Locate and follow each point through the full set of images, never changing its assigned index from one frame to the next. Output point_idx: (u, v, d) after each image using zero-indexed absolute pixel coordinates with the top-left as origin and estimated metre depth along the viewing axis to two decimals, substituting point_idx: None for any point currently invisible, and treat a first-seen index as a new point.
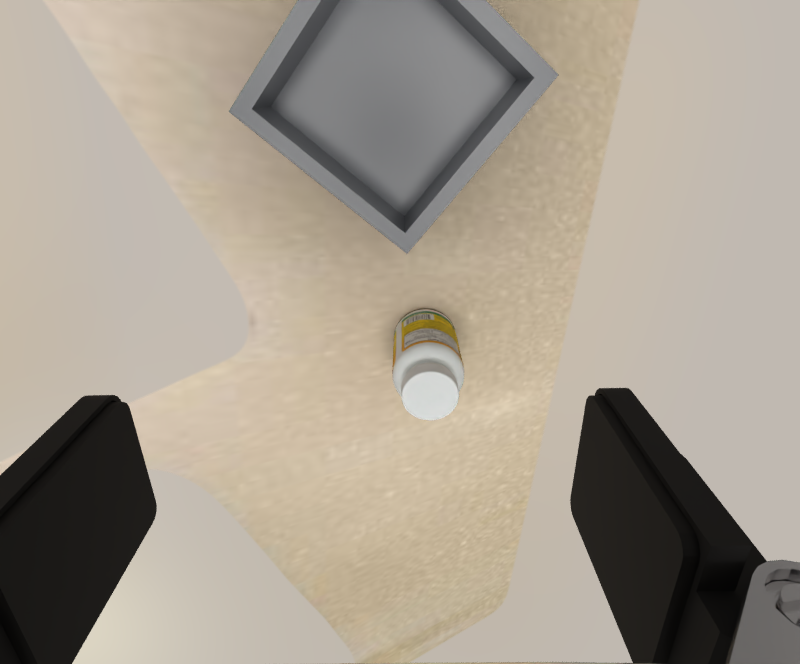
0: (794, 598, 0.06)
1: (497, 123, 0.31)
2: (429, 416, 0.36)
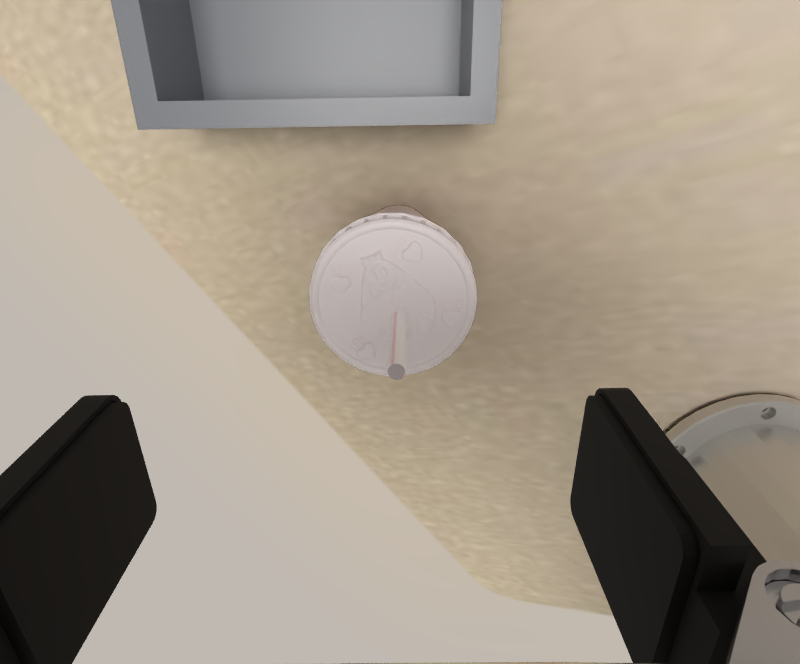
0: (794, 598, 0.06)
1: (137, 3, 0.18)
2: None
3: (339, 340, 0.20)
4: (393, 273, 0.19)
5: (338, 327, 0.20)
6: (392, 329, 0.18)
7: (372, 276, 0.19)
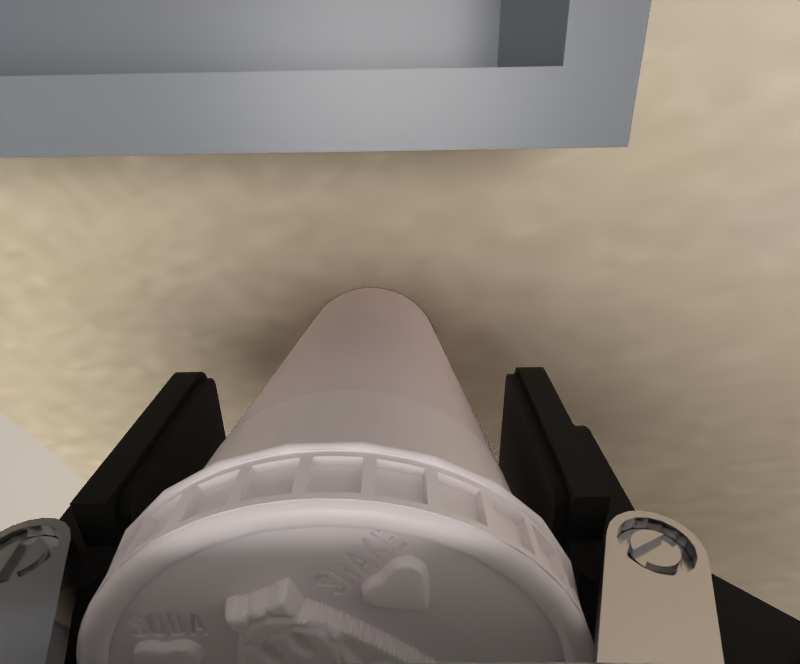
0: (640, 544, 0.07)
1: None
2: None
3: None
4: (335, 647, 0.06)
5: None
6: None
7: (267, 655, 0.06)
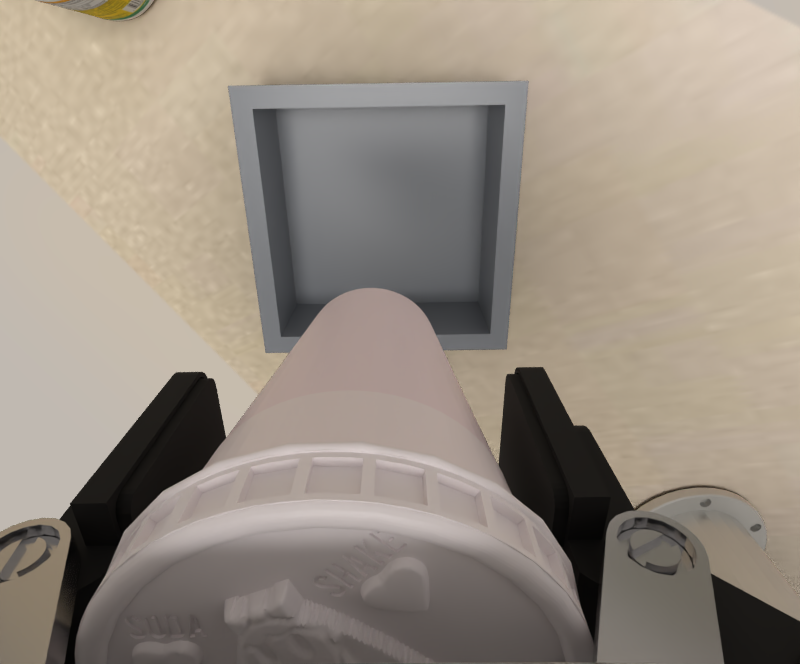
0: (640, 543, 0.07)
1: (273, 284, 0.28)
2: None
3: None
4: (334, 649, 0.06)
5: None
6: None
7: (266, 656, 0.06)
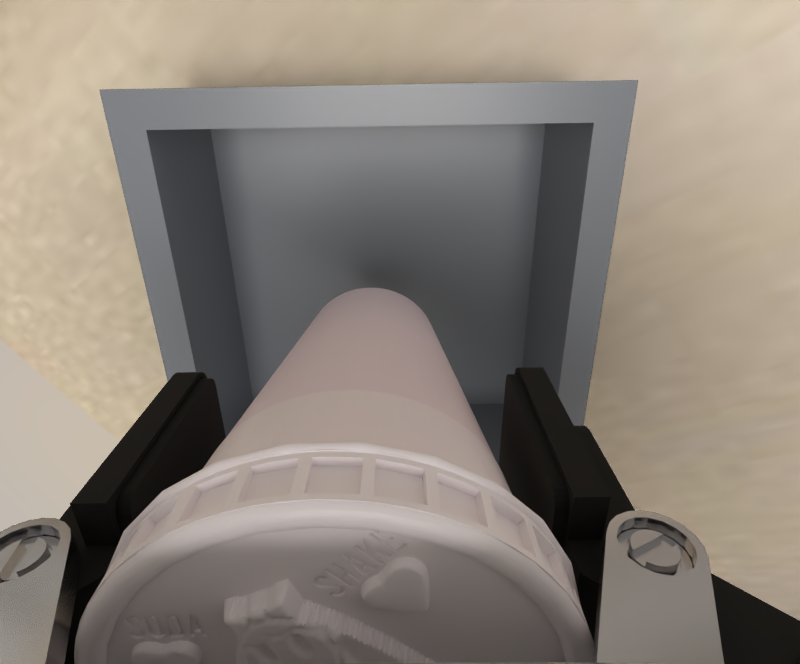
0: (640, 543, 0.07)
1: None
2: None
3: None
4: (334, 649, 0.06)
5: None
6: None
7: (266, 656, 0.06)
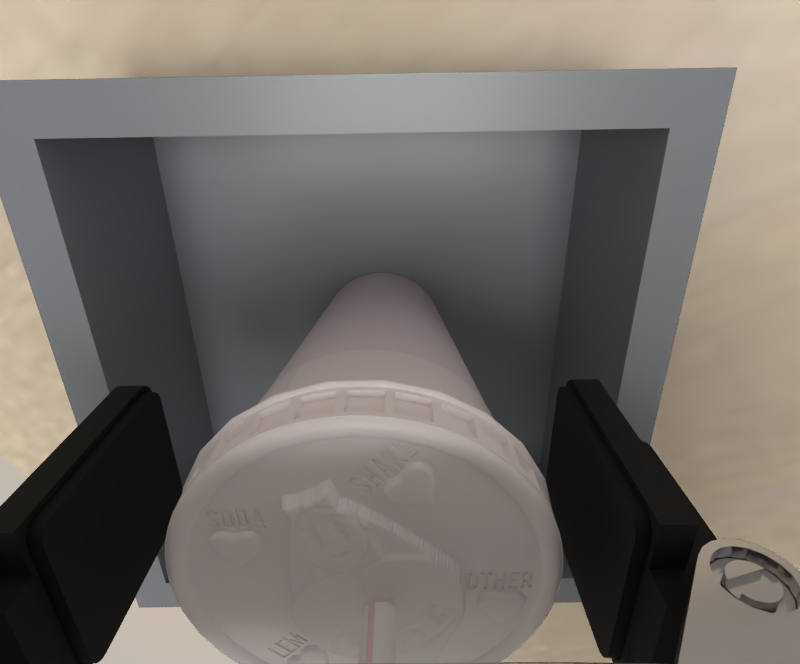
0: (736, 574, 0.06)
1: None
2: None
3: (247, 643, 0.09)
4: (363, 534, 0.07)
5: (242, 622, 0.09)
6: None
7: (312, 540, 0.08)
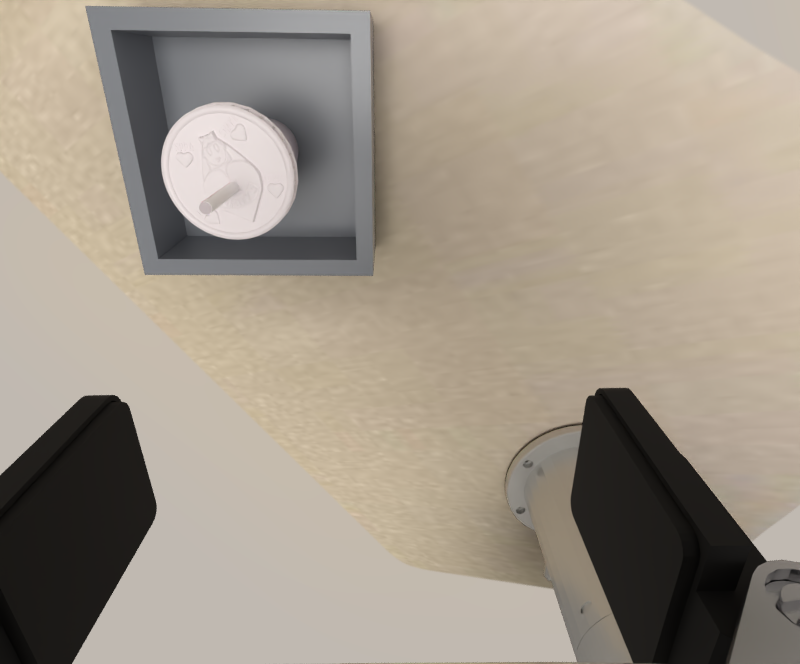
0: (794, 598, 0.06)
1: (146, 206, 0.30)
2: None
3: (189, 207, 0.25)
4: (224, 149, 0.24)
5: (187, 196, 0.25)
6: (219, 189, 0.23)
7: (208, 152, 0.24)
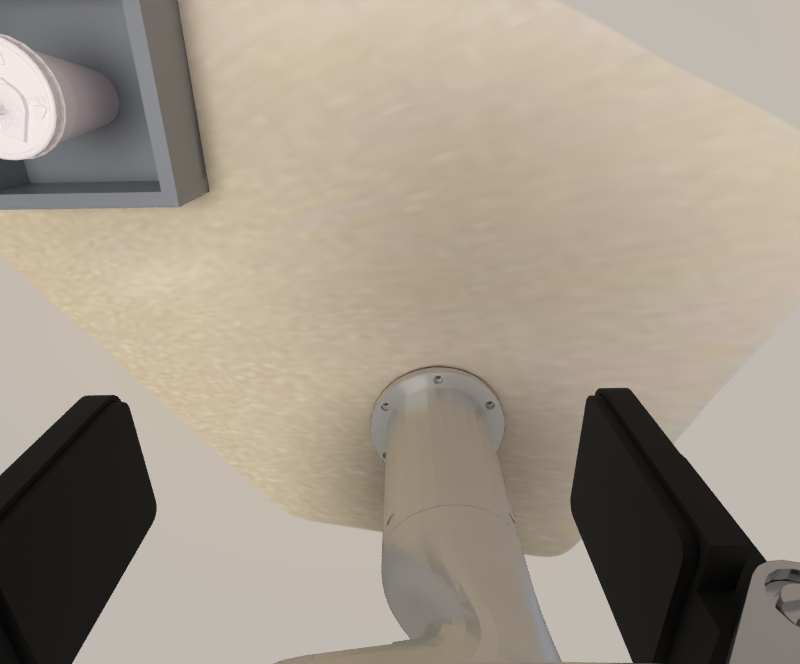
0: (794, 598, 0.06)
1: None
2: None
3: None
4: None
5: None
6: None
7: None
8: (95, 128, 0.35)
